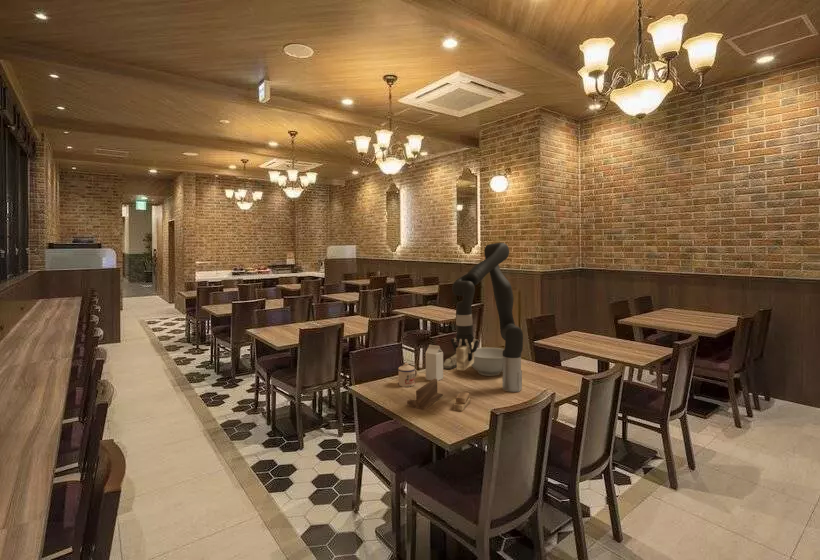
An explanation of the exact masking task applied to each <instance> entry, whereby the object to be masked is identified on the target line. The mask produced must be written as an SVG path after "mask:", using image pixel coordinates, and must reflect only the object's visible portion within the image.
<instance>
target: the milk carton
mask: <svg viewBox="0 0 820 560" xmlns="http://www.w3.org/2000/svg"><path fill="white" fill-rule="evenodd" d="M424 355H425V380H428V381H432V380H433V379H437V382H438V381H440V380H443V379H444V368H443V363H444V351H443V350H442V349H441V347H440V345H433V344H428V347H427V349H426V351H425V354H424Z"/></svg>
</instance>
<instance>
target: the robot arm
mask: <svg viewBox="0 0 820 560" xmlns="http://www.w3.org/2000/svg"><path fill="white" fill-rule="evenodd" d="M483 253H484V260H482V261H480V262H478V263H477V264H475V265H474V266H473V267H472V268H471V269H470V270H469V271H468V272H467V273H465V274H464V275H462V276H460V277H459V278H457V279H456V280H455V281H454V282H453V283H452V285H451V290H452V292H451V293H453V295H455V296H458V297H459V296H460V297H463V298H462V300H460V301H457V302H456V305H455V306H456V307H455V308H456V318H455V320H456V321H455V324H456V326H455V327H456V331H455V332H456V335H455V337H453V338H450V342H451V344H452V347H453V350H454V351H455V352H456V348H457V347H459V346H462V345H465V346H467V347H468V361H471V360H472V353H473V352H475V351H476V350H477V348H479V343H480V339H476V338H475V336H474V327H473V325H474V324H473V321H474V319H473V309H472V307H473V306H472V305H473V300H474V296H475V292H476V288H475V286H477V285H478V284H480V282H481V281H482V280H483V279H484V278H485V277H486V276H487V274H489V276H490V279H491V285H492V290H493V296H494V302H495V305H496V310H497V314H498V321H499V332H500V336H501V338H502V340H504V342H505V343H504V348H503V349H504V350H503V371H502V385H501V386H502V390H503V391H505V392H509V393H510V392H511V393H515V392H516V393H517V392H518V393H519V392H521V390H522V389H523V370H522V352H523V346H524V333H523V330H522V329H521V327H520V326H519V325H516V323H515V320H514V315H513V307H514V294H513V289H512V288H513V287H512V285H511V283H510V281H509V280H508V278H507V277H506V276H505V275H504V273H503V272H502V270H501V267H500V264H501V263H503V262H504V261H506V260H507V259H508V257H509V255H510V247H509V246H508V245H507V243H504V242H496V243H489V244H487V245H485V247H484V252H483ZM457 342H458V343H457ZM472 342H474V347H473V349H472V345H471V343H472Z"/></svg>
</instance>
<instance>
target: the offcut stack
mask: <svg viewBox="0 0 820 560" xmlns="http://www.w3.org/2000/svg"><path fill="white" fill-rule="evenodd" d="M455 399H456V400H455V403H454V404H453V411H459V412H463V411H464V410H465V409H466V408H467V407H468V406H469V405H471V398H470V393H469V392H462V391H460V392H459V393H458V394H457V396H456V398H455Z"/></svg>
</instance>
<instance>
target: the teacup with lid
mask: <svg viewBox="0 0 820 560" xmlns="http://www.w3.org/2000/svg"><path fill="white" fill-rule="evenodd" d="M397 371H398V386H399V387H403V388H410V386H411V387H413V385H414V386H415V384H416V377H417V376H418V371H417V369H416V368H415V366H413V365H410V364H409V363H408V362H404V364H403V365H401V366H399V367H398V368H397Z"/></svg>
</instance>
